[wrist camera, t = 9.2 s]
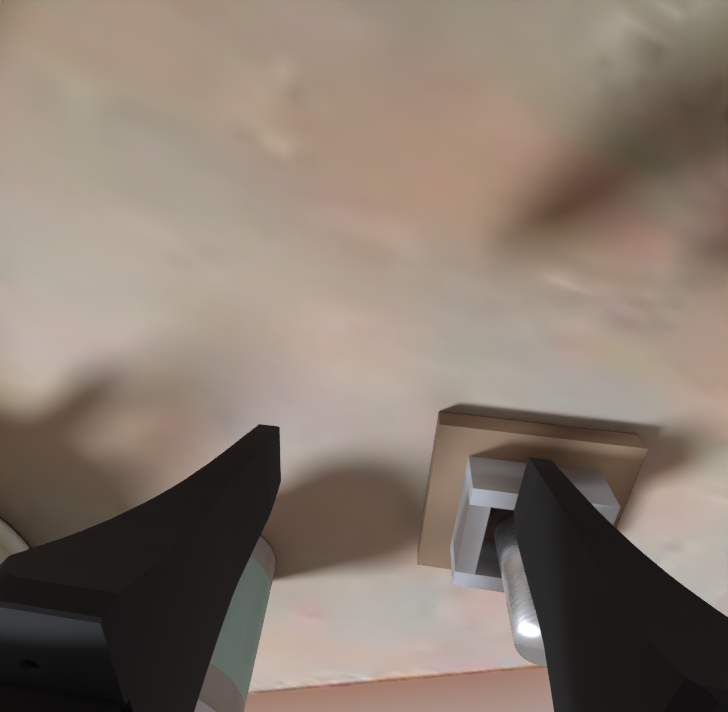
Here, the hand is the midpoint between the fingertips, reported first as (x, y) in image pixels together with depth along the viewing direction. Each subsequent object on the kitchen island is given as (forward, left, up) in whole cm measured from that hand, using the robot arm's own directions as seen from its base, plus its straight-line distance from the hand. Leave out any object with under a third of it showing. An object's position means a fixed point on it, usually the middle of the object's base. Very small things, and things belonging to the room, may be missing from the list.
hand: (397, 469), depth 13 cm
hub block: (-7, +9, -10) cm, 15 cm away
